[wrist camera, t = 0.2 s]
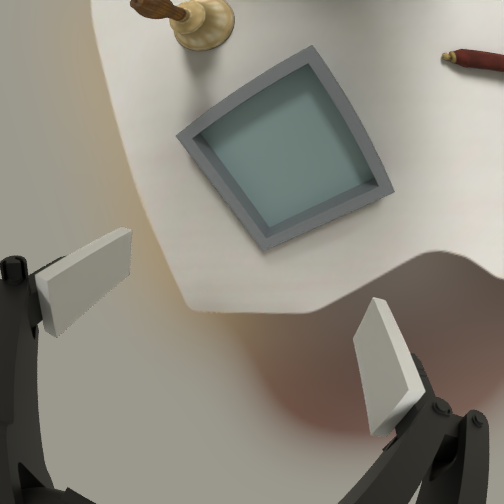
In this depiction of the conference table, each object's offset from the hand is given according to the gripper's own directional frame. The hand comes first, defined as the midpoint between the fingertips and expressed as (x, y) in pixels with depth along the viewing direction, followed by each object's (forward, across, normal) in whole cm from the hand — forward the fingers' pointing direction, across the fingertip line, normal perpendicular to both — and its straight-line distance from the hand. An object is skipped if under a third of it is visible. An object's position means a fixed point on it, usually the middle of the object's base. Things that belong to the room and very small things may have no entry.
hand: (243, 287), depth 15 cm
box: (+26, 0, +7) cm, 27 cm away
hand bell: (+22, -14, +22) cm, 34 cm away
